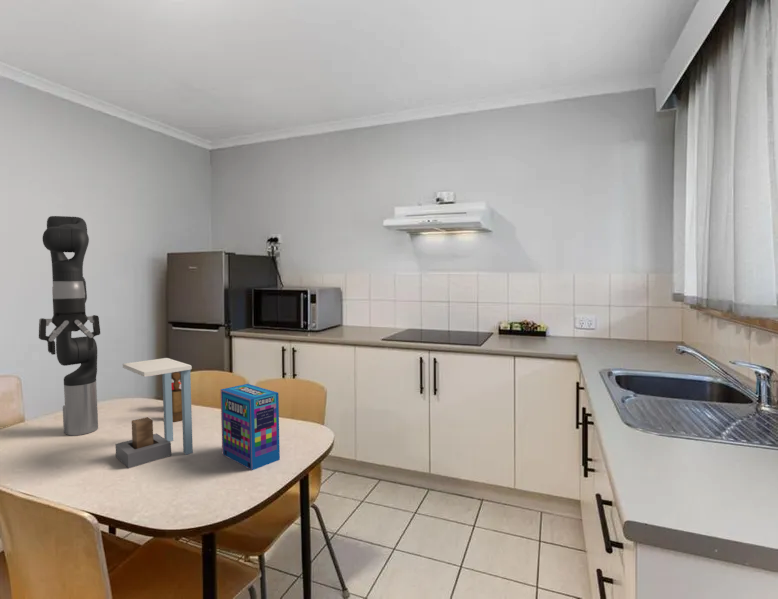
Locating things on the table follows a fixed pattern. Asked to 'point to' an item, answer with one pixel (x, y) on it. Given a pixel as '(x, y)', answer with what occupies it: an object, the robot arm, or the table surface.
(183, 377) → the two-legged side table
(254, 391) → the box
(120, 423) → the table surface
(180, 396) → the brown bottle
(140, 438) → the walnut peg
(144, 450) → the socket
